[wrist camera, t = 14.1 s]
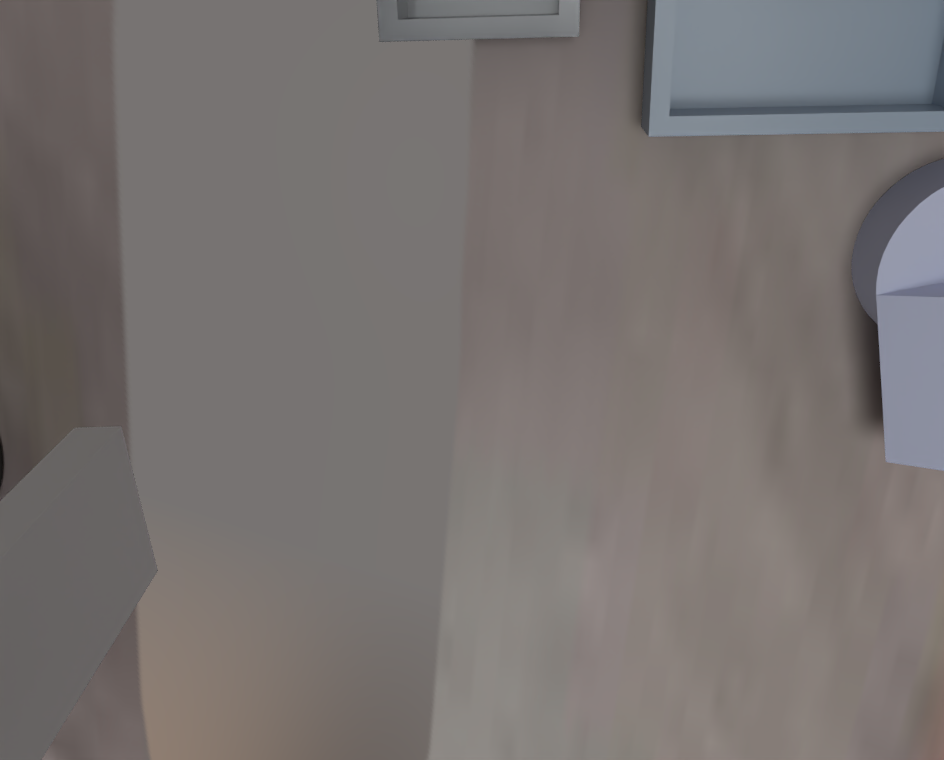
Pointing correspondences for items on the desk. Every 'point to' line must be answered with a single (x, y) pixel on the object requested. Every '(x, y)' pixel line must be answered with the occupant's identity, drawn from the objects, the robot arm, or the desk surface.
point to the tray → (793, 67)
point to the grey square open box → (476, 19)
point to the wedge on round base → (907, 311)
